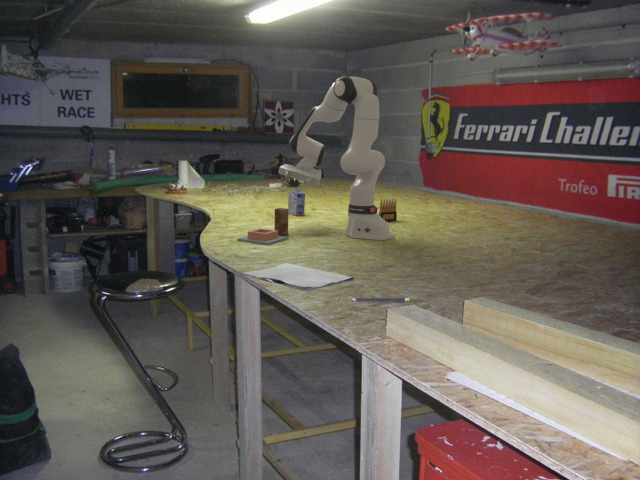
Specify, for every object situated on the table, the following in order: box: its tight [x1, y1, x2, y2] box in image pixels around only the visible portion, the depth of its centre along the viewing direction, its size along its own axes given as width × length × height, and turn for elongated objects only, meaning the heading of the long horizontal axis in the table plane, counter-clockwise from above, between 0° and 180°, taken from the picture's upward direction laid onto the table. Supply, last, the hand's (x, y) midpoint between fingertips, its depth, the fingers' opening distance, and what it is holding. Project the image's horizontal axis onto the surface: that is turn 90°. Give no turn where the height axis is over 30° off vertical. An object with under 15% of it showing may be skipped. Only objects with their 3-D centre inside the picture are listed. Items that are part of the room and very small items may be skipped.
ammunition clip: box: [378, 198, 398, 223], centre depth 330 cm, size 11×2×12 cm, turn 120°
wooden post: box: [274, 207, 289, 237], centre depth 285 cm, size 4×4×12 cm
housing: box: [236, 227, 289, 246], centre depth 272 cm, size 16×16×4 cm
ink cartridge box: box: [287, 187, 306, 217], centre depth 344 cm, size 10×6×14 cm, turn 33°
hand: (296, 179), depth 291 cm, fingers open, 8 cm apart
